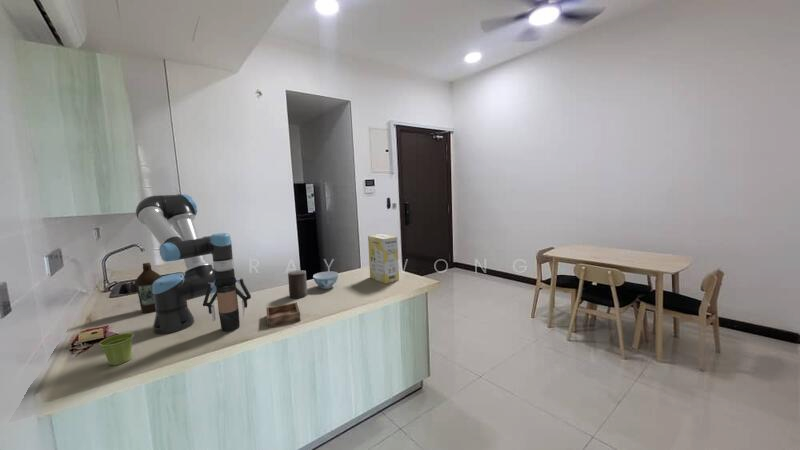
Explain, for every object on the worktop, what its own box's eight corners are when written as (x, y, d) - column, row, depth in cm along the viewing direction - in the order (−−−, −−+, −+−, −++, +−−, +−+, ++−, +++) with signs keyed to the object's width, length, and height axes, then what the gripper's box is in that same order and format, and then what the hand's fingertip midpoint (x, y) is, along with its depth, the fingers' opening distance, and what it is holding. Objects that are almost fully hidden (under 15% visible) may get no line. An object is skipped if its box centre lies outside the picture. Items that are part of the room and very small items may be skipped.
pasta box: (398, 280, 199) (397, 236, 196) (385, 283, 193) (383, 239, 189) (383, 274, 214) (381, 233, 210) (370, 277, 207) (367, 235, 204)
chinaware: (321, 293, 180) (320, 280, 179) (309, 287, 191) (308, 275, 190) (343, 286, 190) (342, 274, 189) (331, 281, 201) (330, 270, 200)
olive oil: (143, 308, 167) (136, 262, 164) (167, 304, 171) (161, 259, 168) (137, 315, 157) (129, 267, 154) (163, 310, 162) (156, 263, 159)
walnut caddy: (267, 327, 138) (266, 318, 137) (267, 315, 151) (266, 307, 150) (300, 320, 143) (299, 312, 143) (297, 310, 156) (296, 302, 156)
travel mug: (244, 326, 140) (239, 283, 137) (227, 333, 133) (222, 288, 130) (234, 323, 143) (229, 281, 141) (217, 330, 137) (212, 286, 134)
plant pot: (106, 359, 116) (103, 337, 115) (139, 351, 121) (136, 330, 120) (99, 371, 108) (95, 348, 107) (134, 362, 113) (131, 340, 112)
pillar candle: (293, 299, 170) (291, 273, 169) (287, 295, 178) (285, 269, 176) (310, 295, 177) (308, 270, 175) (303, 291, 184) (301, 266, 182)
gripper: (190, 275, 127) (196, 326, 130) (253, 267, 136) (258, 315, 139) (193, 270, 134) (200, 319, 136) (254, 263, 143) (258, 309, 146)
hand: (229, 317), depth 138 cm, fingers open, 11 cm apart
